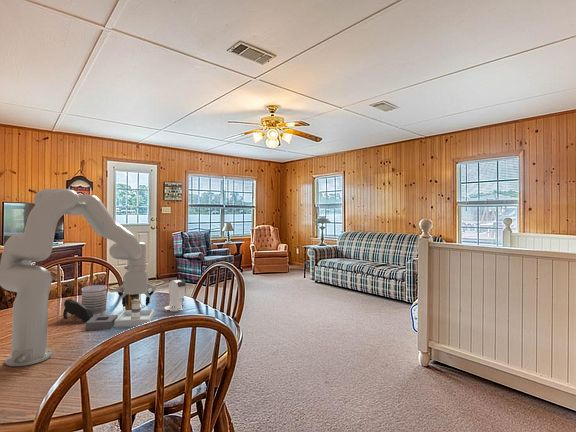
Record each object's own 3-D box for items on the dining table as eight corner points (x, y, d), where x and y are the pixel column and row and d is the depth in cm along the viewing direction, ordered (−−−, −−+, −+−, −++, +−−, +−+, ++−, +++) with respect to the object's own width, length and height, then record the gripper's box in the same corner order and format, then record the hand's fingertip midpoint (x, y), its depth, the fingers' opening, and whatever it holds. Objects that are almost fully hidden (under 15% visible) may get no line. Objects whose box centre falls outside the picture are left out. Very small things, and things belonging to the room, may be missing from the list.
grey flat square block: (111, 328, 145) (111, 321, 145) (85, 329, 143) (85, 322, 143) (117, 321, 155) (117, 314, 155) (93, 322, 153) (93, 315, 153)
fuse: (139, 320, 155) (139, 301, 155) (129, 321, 154) (130, 301, 154) (141, 318, 158) (141, 298, 158) (131, 318, 158) (132, 299, 158)
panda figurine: (191, 308, 179) (192, 280, 179) (171, 312, 171) (172, 283, 171) (180, 304, 187) (180, 277, 187) (160, 307, 179) (161, 279, 179)
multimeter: (134, 314, 166) (135, 274, 166) (118, 312, 170) (119, 272, 170) (155, 307, 180) (156, 269, 180) (140, 305, 183) (141, 268, 183)
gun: (83, 333, 154) (92, 315, 153) (57, 315, 156) (65, 296, 156) (88, 331, 157) (97, 313, 156) (62, 313, 159) (71, 295, 158)
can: (111, 308, 176) (111, 285, 176) (97, 314, 165) (97, 290, 165) (90, 307, 177) (91, 284, 177) (75, 313, 166) (75, 289, 166)
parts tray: (148, 326, 150) (148, 319, 150) (114, 327, 147) (114, 320, 147) (154, 315, 165) (154, 309, 165) (123, 316, 162) (123, 310, 162)
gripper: (114, 270, 150) (113, 308, 150) (155, 269, 154) (154, 307, 154) (118, 267, 158) (117, 304, 158) (157, 267, 162) (157, 302, 162)
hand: (136, 305), depth 156 cm, fingers open, 9 cm apart
